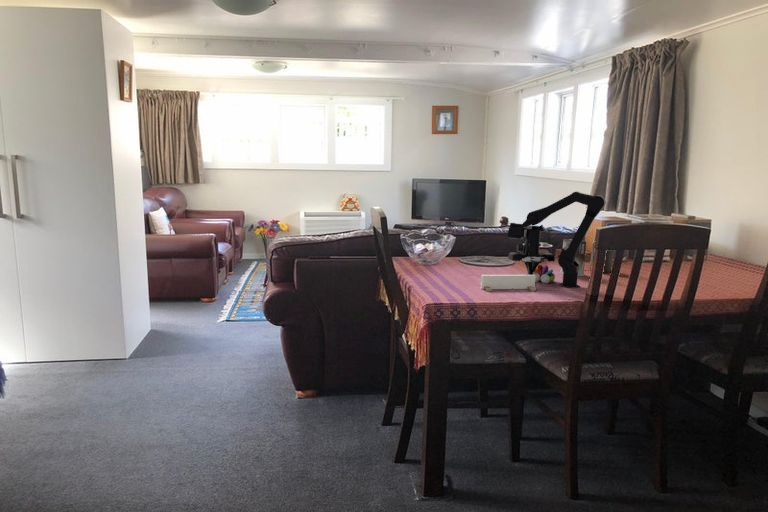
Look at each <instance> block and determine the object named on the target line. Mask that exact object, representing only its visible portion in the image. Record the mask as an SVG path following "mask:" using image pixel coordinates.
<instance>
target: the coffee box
mask: <svg viewBox="0 0 768 512" xmlns="http://www.w3.org/2000/svg"><path fill="white" fill-rule="evenodd" d="M572 239H573V238H564V239H563V240H562V249H563V248H564V247H566V248H568V246H569V245H570V243H571V241H572ZM586 250H587V241H586V240H585V239H583V241H582V243H581V244H580V246H579V248H578V252H577V255H576V258H575V261H576V262H577V263H578V264H579V265H580V267H579V269H578V270H577V271H578V277H584V275H585V266H586V265H585V261H586ZM560 274H562V276H563V269H562V267H561V266H560Z"/></svg>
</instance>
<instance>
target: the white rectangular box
mask: <svg viewBox="0 0 768 512" xmlns="http://www.w3.org/2000/svg"><path fill="white" fill-rule="evenodd" d="M535 278H536V275H528V274H481V275H480V289H481V288H482V289H481V290H485V291H486V292H492V291H493V290H528V291H530V290H531V292H536V291H537V288H536V282H535ZM512 288H513V289H512Z"/></svg>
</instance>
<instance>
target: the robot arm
mask: <svg viewBox="0 0 768 512" xmlns="http://www.w3.org/2000/svg"><path fill="white" fill-rule="evenodd" d="M606 200H607V199H606V198H605V197H604V196H603V195H601V194H596V195H591V194H587V193H583V192H580V191H573V192H571V194H569V195H567V196H565V197H563V198H561V199H559V200H556V201H555V202H552V204H549V205H548V206H545V207H542V208H539V209H537V210H532V211H530V212H528V213H527V215H526V219H525V221H523V222H522V223H515V222H510V223H509V227H508V230H507V238H508V239H513V240H523V239H524V238H525V241H524V243H523V244H524V245H523V244H522V243H517V244H516V248H515V249H516V250H515V251H516V252H514V251H513V252H512V251H511V252H509V253H508V258H507V259H509V260H511V262H520V261H521V262H523V264H525V267H526V271H527V275H532V274H533V273H534V271H535V269H536V268H537V269H538V266H539V265H540V264H542V262H543V261H541V260H546V261H548V262H555V260H556V256H555V254H553V253H551V252H541V253H540V247H541V245H542V244H541V243H540V242H541V232H545V231H546V230H547V229H546V228H545V227H544V225H543V224H541V225H539V224H540V223H542V222H543V221H544V220H546V219H548V217H550V216H551V215H553V214H555V213H557V212H558V211H560V210H562V209H565V208H566V207H568V206H570V205H572V204H574V203H579V204H582V205H585V206H587V207H586V210H585V215H584V217H583V219H582V220H581V222H580V224H579V226H578V228H577V230H576V231H575V233H574V235H573V238H571V239H572V241H571V243H570V245H569V246H568V248H566V247H564V248H563V247H562V249H561V251H560V254H559V255H558V256H557V258H558V259H557V263H558V265H559V267H560V268H561V267H562V269H563V275H562V282H559V283H558V284H559V285H560V286H563V287H564V288H581V285H579V284H578V277H579V276H578V271H577V270H578V269H579V267H580V265H579V264H578V263H577V262H576V261H575V258H576V255H577V252H578V248H579V246H580V244H581V243H582V241H583V240H585V237H586V235H587V233H588V231H589V230H590V228H591V226H592V225H593V223H594V221H595V219H596V217H597V216H598V215H599V214H600V212H601V211H602V210H603V209H604V207H605V206H606V204H607V201H606ZM538 225H539V226H538ZM530 226H532V227H530Z"/></svg>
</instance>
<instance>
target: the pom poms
mask: <svg viewBox="0 0 768 512" xmlns="http://www.w3.org/2000/svg"><path fill="white" fill-rule="evenodd" d="M553 272H554V270H553V269H550V270H549V266H548V265H547V264H546V265H544V266H543V265H541V264H539V265H538V266H537V268H536V269H535V271H534V273H533V274H532V275H536V278H535V283H537V282H539V281H540V282H541V283H543V284H548V283H549V282H554V281H555V279H556V275H555V273H553Z"/></svg>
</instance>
